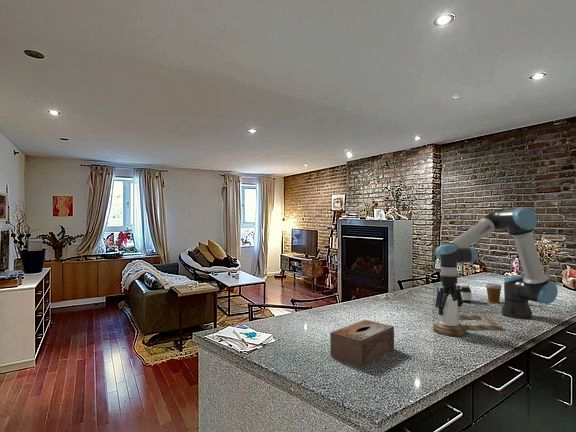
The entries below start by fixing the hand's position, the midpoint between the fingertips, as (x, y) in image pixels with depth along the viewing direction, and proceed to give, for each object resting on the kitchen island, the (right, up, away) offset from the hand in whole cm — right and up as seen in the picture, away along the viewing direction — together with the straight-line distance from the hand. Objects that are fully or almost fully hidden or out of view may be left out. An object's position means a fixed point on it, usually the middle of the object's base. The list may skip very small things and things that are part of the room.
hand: (449, 320), depth 172 cm
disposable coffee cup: (+60, -7, +63) cm, 87 cm away
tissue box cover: (-49, -6, -28) cm, 56 cm away
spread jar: (+39, -7, +67) cm, 78 cm away
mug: (-1, -2, 0) cm, 2 cm away
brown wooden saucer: (0, -6, 0) cm, 6 cm away
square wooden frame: (+18, -6, +13) cm, 23 cm away
